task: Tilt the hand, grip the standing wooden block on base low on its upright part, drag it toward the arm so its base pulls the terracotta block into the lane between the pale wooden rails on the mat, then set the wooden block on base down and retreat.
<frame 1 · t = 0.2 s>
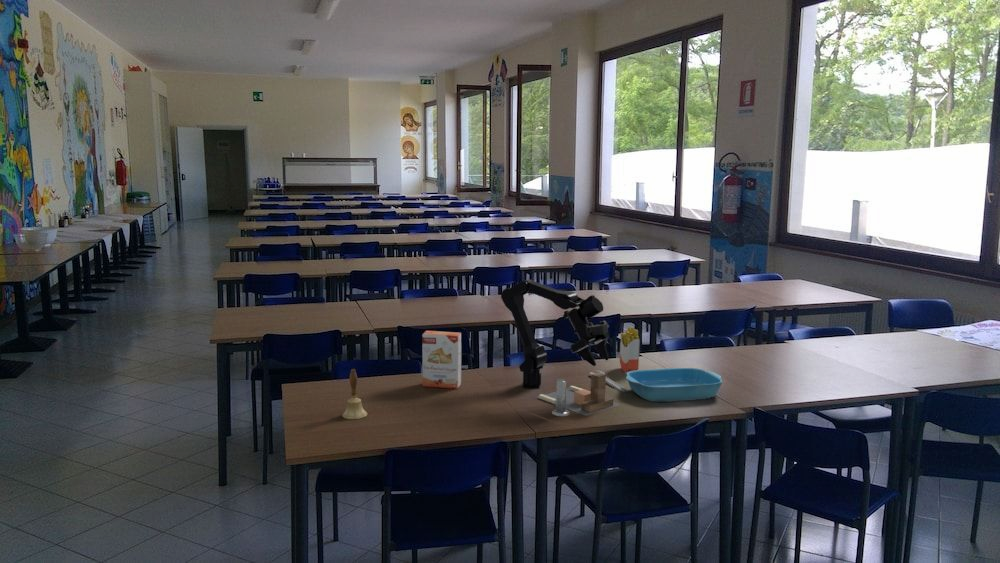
hand: (601, 362, 259), 14 cm above the table, tool tilted 35°, fingers open, 9 cm apart
casserole dish: (672, 394, 271), on the table
wooden block on base: (597, 407, 253), resting on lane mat
cracker box: (441, 386, 278), on the table
hand bell: (354, 415, 245), on the table
adjustable wrench: (606, 384, 283), on the table
grey metal stick: (560, 414, 247), on the table
french fries container: (628, 371, 299), on the table
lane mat: (563, 397, 266), on the table
terracotta block: (583, 402, 258), resting on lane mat
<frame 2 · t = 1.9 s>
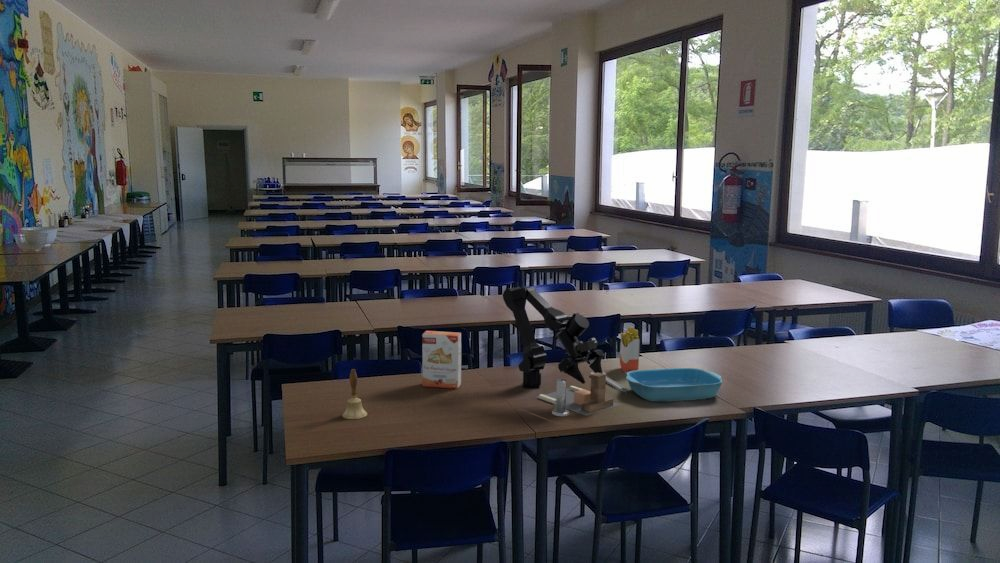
hand: (593, 380, 253), 10 cm above the table, tool tilted 45°, fingers open, 9 cm apart
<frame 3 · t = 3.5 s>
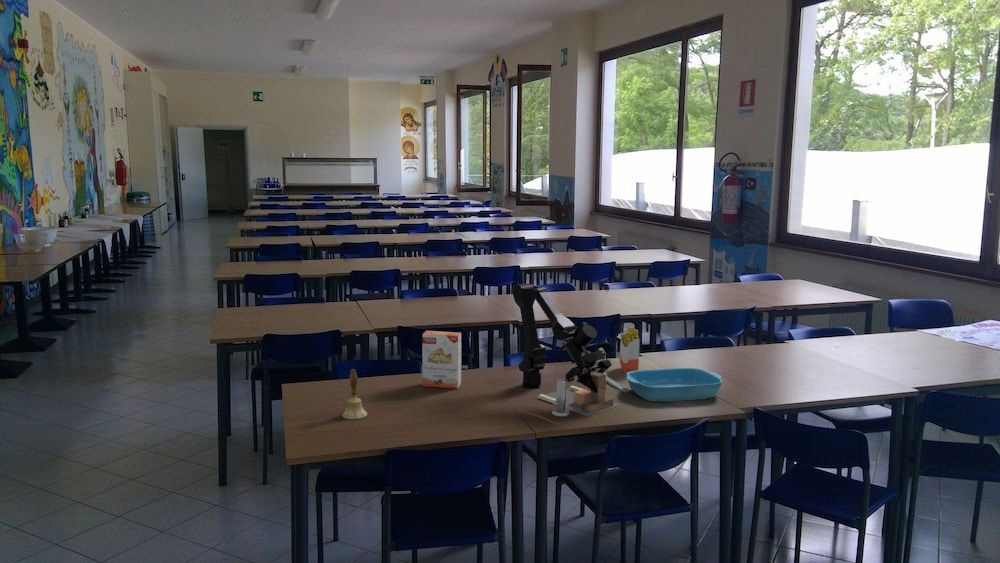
hand: (600, 391, 251), 7 cm above the table, tool tilted 45°, fingers closed on wooden block on base, 4 cm apart
wooden block on base: (597, 407, 253), resting on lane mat, touching gripper
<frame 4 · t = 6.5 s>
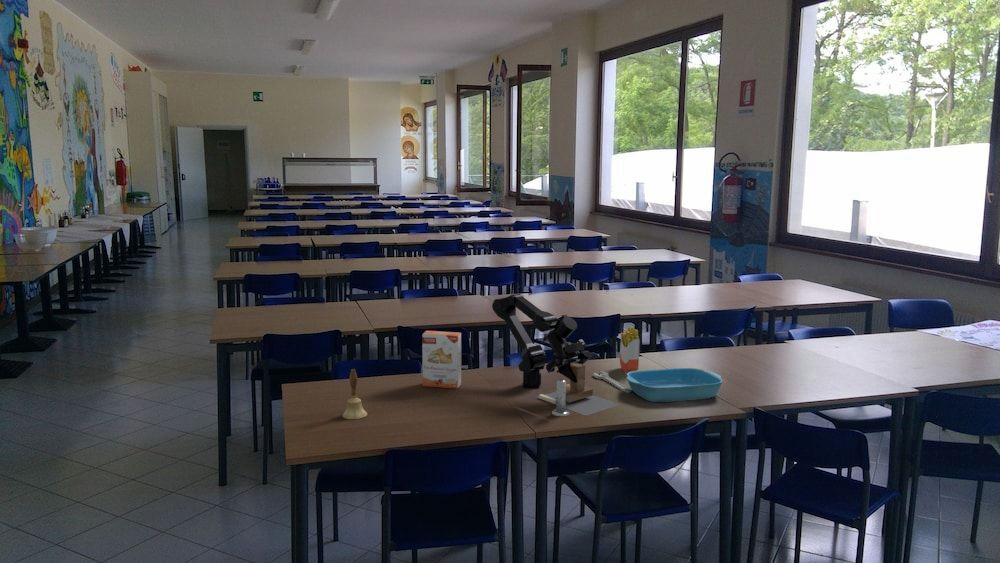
hand: (580, 381, 258), 8 cm above the table, tool tilted 45°, fingers closed on wooden block on base, 4 cm apart
wooden block on base: (577, 397, 260), point 2 cm above the table, touching gripper, terracotta block
terracotta block: (567, 397, 264), resting on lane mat, touching wooden block on base
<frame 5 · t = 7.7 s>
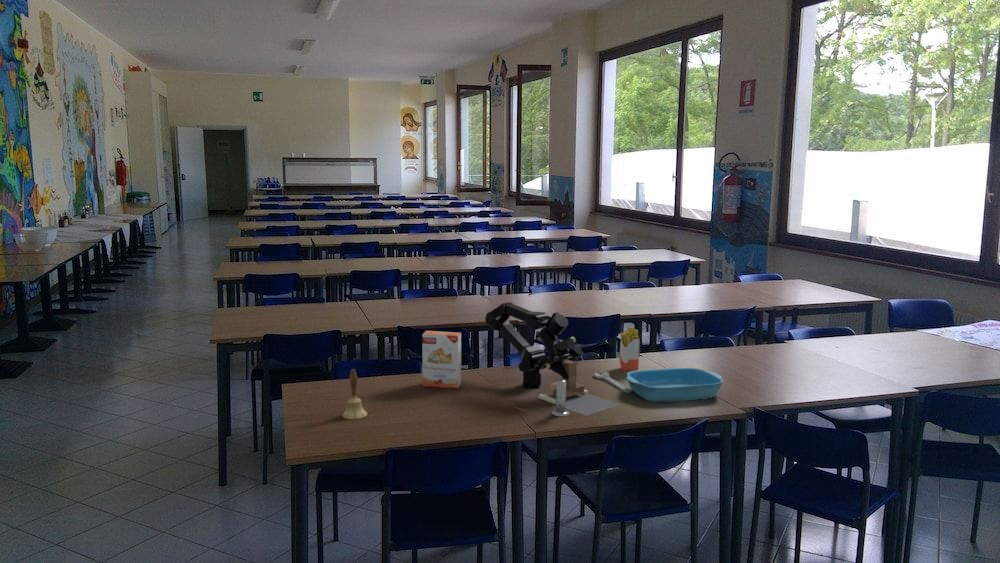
hand: (571, 378, 261), 8 cm above the table, tool tilted 45°, fingers closed on wooden block on base, 4 cm apart
wooden block on base: (568, 394, 264), point 2 cm above the table, touching gripper, terracotta block
terracotta block: (559, 394, 267), resting on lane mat, touching wooden block on base
when the fingers open (7 cm above the table, at t = 8.8 s): wooden block on base stays where it is, resting on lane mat.
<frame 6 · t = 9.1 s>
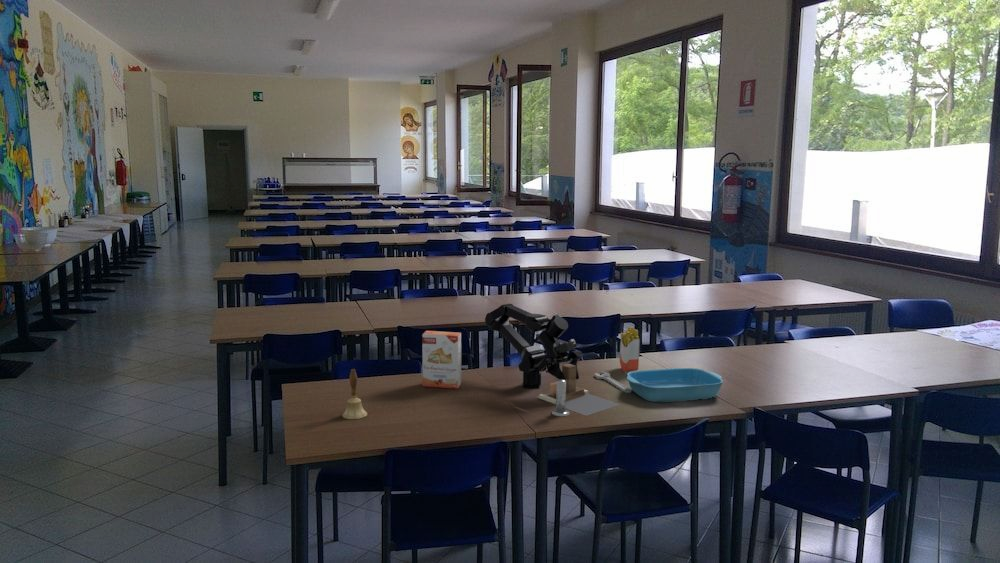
hand: (571, 380, 262), 7 cm above the table, tool tilted 45°, fingers open, 6 cm apart
wooden block on base: (568, 397, 264), resting on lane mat
terracotta block: (559, 394, 267), resting on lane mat
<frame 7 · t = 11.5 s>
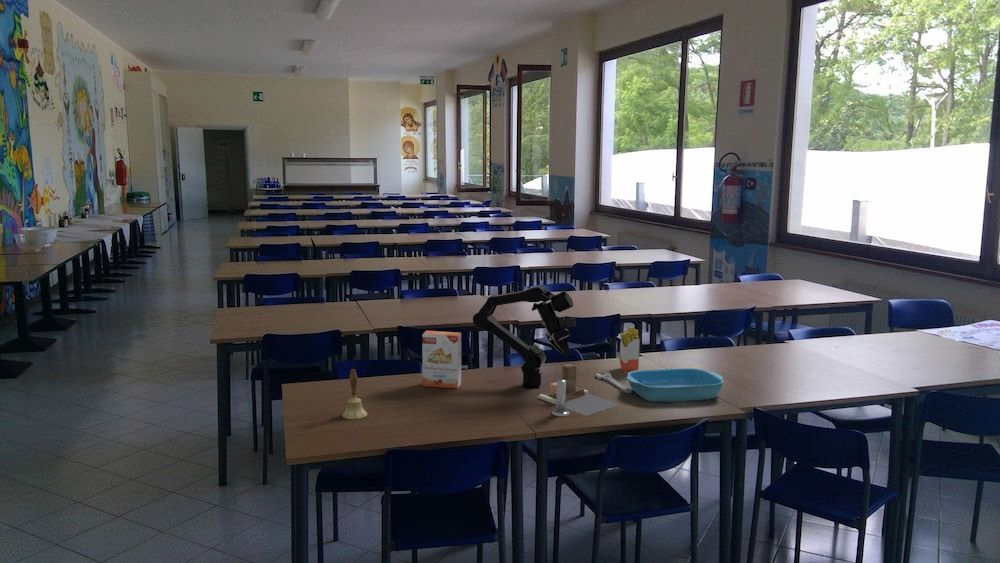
hand: (566, 354, 272), 13 cm above the table, tool tilted 25°, fingers open, 9 cm apart
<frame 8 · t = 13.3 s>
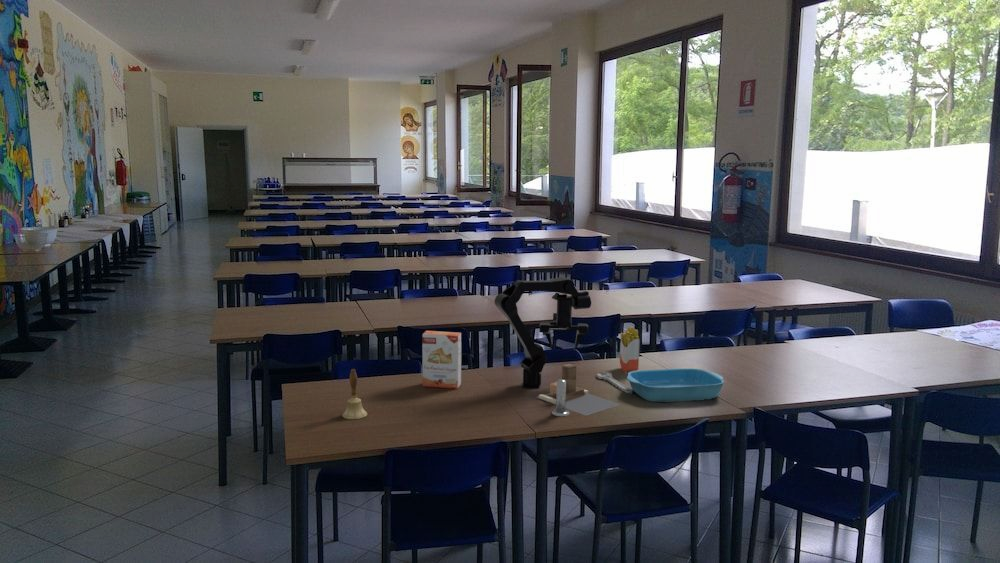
hand: (563, 349, 282), 13 cm above the table, tool pointing down, fingers open, 9 cm apart
at the end: terracotta block 2.1 cm from the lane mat (horizontally); terracotta block moved 12.1 cm from its start; the gripper is holding nothing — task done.
